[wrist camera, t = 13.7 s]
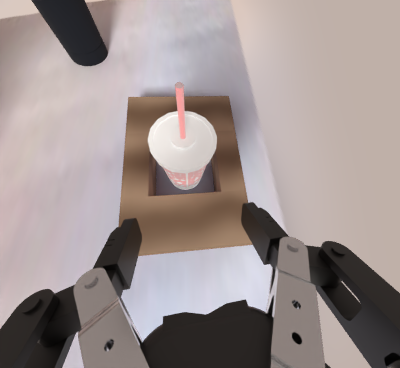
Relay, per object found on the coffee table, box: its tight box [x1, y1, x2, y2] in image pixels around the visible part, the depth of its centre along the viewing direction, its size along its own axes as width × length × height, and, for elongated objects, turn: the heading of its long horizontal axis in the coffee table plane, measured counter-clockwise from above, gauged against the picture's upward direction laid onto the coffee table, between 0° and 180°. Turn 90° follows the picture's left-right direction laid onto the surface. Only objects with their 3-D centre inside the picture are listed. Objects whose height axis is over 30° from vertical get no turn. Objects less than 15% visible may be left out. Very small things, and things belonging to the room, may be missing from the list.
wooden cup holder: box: [119, 96, 253, 256], centre depth 20 cm, size 20×14×4 cm
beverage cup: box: [148, 82, 217, 190], centre depth 15 cm, size 6×6×14 cm
